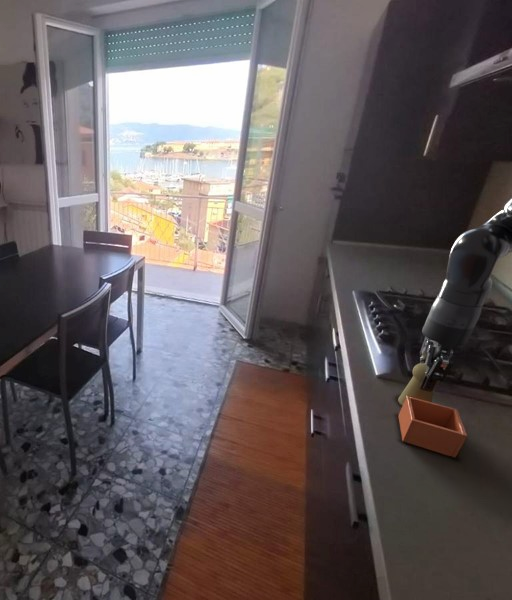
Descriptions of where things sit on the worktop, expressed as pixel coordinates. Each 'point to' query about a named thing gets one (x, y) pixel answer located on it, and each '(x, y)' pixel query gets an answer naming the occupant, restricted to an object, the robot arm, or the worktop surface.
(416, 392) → the cork
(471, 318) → the robot arm
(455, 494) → the worktop surface
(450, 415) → the box
